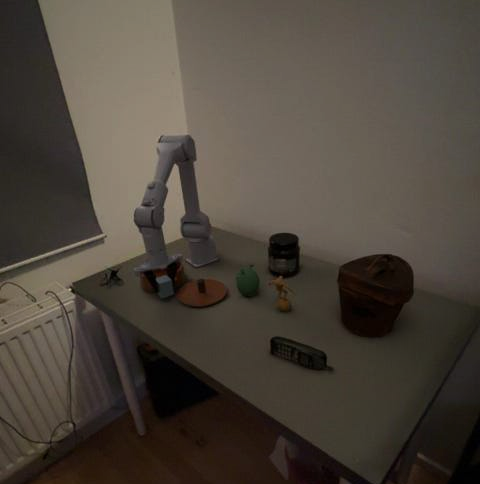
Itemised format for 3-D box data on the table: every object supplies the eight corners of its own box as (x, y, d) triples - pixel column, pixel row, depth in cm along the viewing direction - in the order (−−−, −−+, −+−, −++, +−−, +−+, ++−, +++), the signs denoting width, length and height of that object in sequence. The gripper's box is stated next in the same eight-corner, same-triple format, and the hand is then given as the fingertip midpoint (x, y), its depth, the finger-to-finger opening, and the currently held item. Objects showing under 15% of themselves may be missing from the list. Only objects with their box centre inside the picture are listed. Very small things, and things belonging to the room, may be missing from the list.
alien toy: (246, 285, 112) (245, 257, 107) (264, 293, 107) (263, 264, 102) (231, 294, 108) (228, 265, 103) (249, 303, 103) (247, 273, 98)
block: (168, 289, 109) (166, 274, 107) (173, 294, 106) (171, 279, 104) (156, 292, 107) (153, 278, 105) (161, 298, 104) (159, 283, 102)
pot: (170, 264, 128) (168, 251, 125) (196, 285, 114) (194, 270, 111) (133, 277, 121) (129, 263, 118) (155, 301, 107) (152, 286, 104)
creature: (121, 290, 117) (128, 274, 122) (115, 278, 113) (123, 262, 118) (98, 290, 117) (106, 274, 123) (92, 279, 114) (101, 263, 119)
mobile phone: (268, 340, 81) (330, 359, 74) (274, 332, 83) (335, 350, 76) (269, 356, 84) (329, 376, 77) (274, 348, 86) (334, 367, 79)
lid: (211, 277, 118) (209, 264, 115) (236, 296, 107) (235, 281, 104) (169, 293, 111) (167, 279, 108) (192, 314, 100) (190, 300, 97)
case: (397, 303, 99) (409, 244, 89) (411, 349, 82) (428, 284, 72) (332, 299, 102) (337, 243, 92) (333, 343, 86) (340, 280, 76)
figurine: (300, 311, 98) (302, 273, 92) (289, 321, 94) (290, 283, 88) (276, 302, 103) (275, 266, 96) (264, 312, 99) (263, 275, 92)
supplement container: (290, 261, 124) (290, 229, 118) (305, 274, 116) (306, 240, 109) (263, 267, 121) (262, 235, 115) (276, 281, 113) (276, 247, 106)
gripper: (136, 260, 92) (146, 302, 100) (184, 244, 99) (191, 285, 106) (127, 251, 97) (137, 292, 105) (174, 237, 104) (181, 277, 111)
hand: (164, 288), depth 106 cm, fingers open, 5 cm apart
